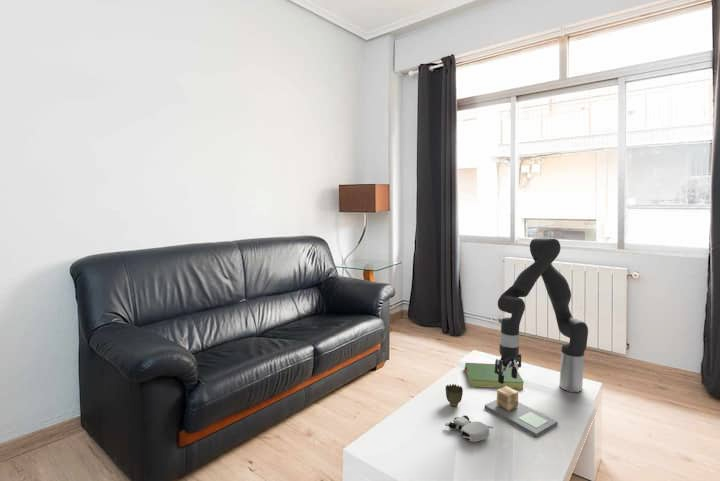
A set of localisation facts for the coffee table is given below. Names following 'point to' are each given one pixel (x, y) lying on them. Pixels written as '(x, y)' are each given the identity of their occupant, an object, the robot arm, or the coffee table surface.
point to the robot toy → (470, 428)
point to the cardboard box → (507, 398)
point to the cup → (454, 394)
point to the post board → (523, 418)
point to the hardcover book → (491, 376)
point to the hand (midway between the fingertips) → (507, 380)
